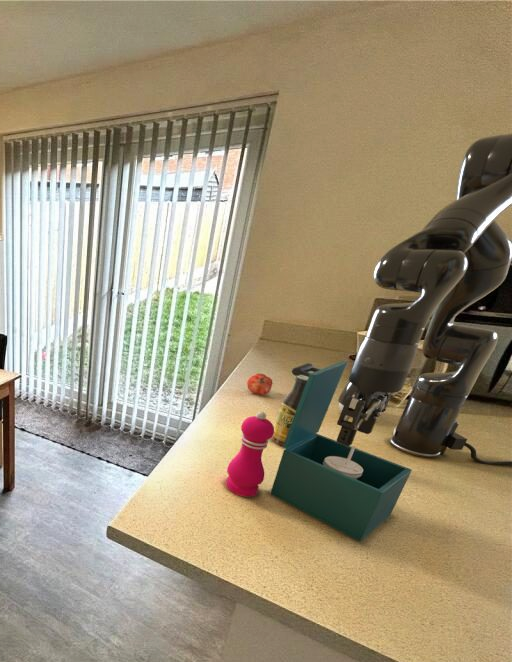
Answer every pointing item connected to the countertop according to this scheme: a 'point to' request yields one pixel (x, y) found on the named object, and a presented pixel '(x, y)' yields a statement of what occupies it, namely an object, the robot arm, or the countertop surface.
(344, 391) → the black dome
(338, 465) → the smoothie
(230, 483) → the pepper mill
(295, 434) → the lid
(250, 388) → the tomato
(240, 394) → the countertop surface
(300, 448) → the cool box
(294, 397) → the sauce bottle
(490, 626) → the countertop surface
